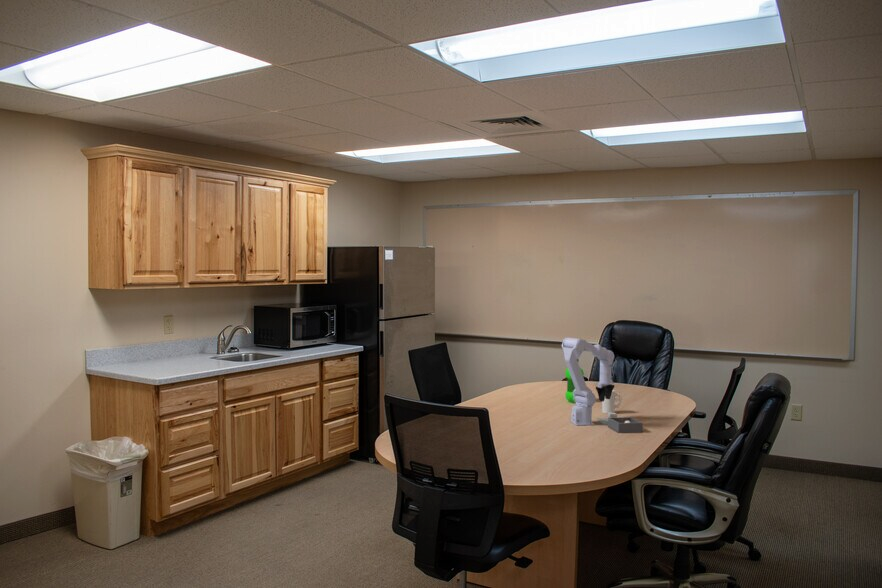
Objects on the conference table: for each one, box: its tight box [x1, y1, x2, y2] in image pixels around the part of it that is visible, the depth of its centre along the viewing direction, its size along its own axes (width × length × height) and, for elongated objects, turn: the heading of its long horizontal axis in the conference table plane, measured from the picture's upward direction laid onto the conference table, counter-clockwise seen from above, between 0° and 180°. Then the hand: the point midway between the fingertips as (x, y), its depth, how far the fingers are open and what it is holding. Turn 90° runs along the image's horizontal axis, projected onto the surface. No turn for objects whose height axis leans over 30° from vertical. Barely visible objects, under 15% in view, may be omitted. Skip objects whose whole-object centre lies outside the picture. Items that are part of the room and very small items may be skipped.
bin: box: [607, 416, 644, 434], centre depth 310 cm, size 12×12×4 cm
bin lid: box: [595, 412, 618, 426], centre depth 327 cm, size 13×13×5 cm
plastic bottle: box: [564, 358, 585, 404], centre depth 374 cm, size 10×10×25 cm
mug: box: [601, 389, 622, 415], centre depth 347 cm, size 10×7×12 cm, turn 78°
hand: (604, 400), depth 330 cm, fingers open, 7 cm apart
